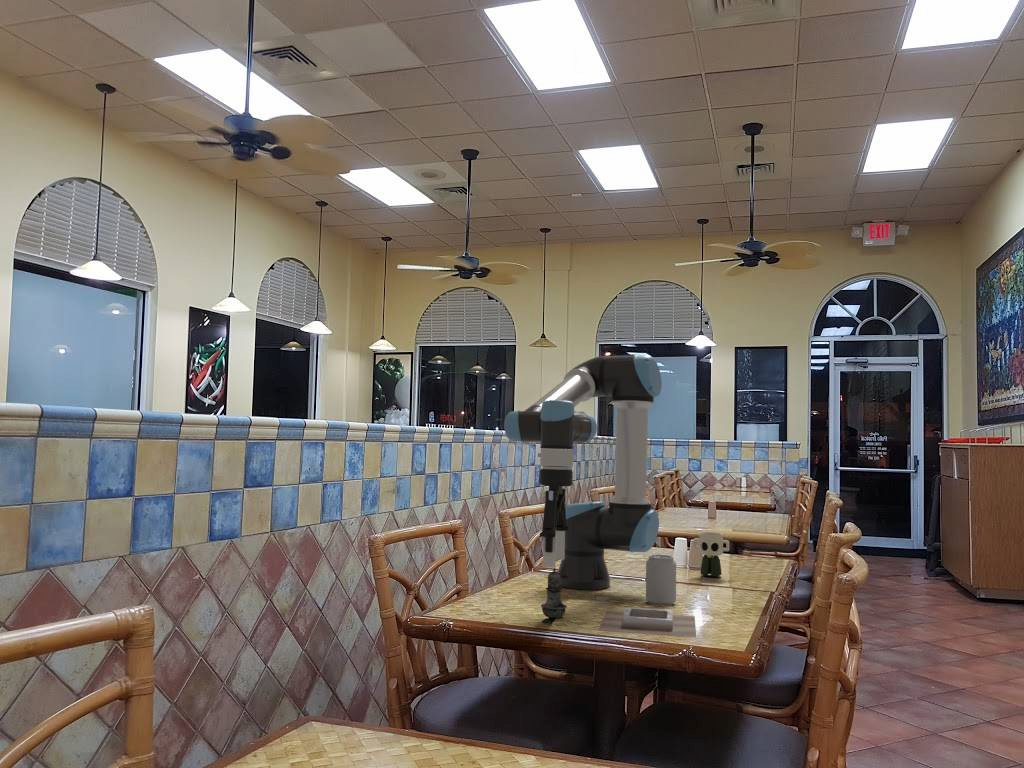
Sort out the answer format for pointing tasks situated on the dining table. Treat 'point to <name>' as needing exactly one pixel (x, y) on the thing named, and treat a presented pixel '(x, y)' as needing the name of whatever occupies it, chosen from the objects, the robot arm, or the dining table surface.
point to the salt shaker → (553, 599)
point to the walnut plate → (680, 628)
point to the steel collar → (648, 618)
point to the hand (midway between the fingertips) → (553, 563)
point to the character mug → (711, 552)
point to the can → (661, 580)
